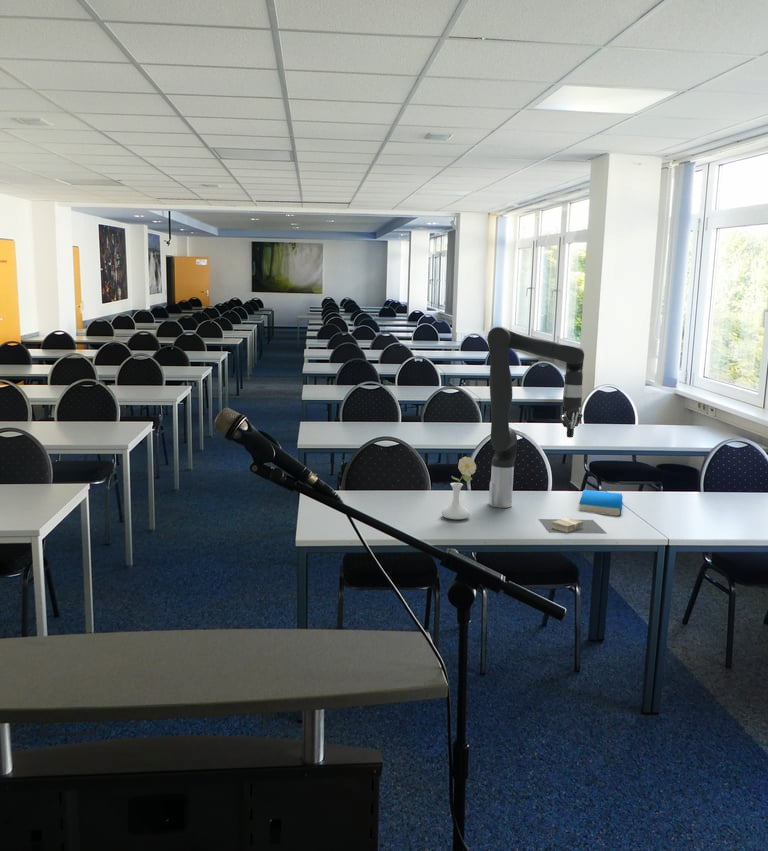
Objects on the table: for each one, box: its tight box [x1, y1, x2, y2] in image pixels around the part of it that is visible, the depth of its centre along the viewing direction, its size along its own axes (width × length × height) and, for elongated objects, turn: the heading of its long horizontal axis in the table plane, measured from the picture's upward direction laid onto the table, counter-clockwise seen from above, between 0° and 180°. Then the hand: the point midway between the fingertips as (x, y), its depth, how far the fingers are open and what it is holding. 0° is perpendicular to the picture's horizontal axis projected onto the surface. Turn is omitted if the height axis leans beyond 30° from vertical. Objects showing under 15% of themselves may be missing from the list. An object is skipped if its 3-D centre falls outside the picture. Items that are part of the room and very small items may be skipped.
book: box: [578, 489, 623, 516], centre depth 336 cm, size 17×4×25 cm
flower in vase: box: [440, 456, 477, 520], centre depth 311 cm, size 13×11×25 cm
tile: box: [552, 517, 583, 532], centre depth 301 cm, size 2×7×10 cm
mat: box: [538, 518, 608, 535], centre depth 304 cm, size 22×18×1 cm
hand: (569, 437), depth 323 cm, fingers closed
